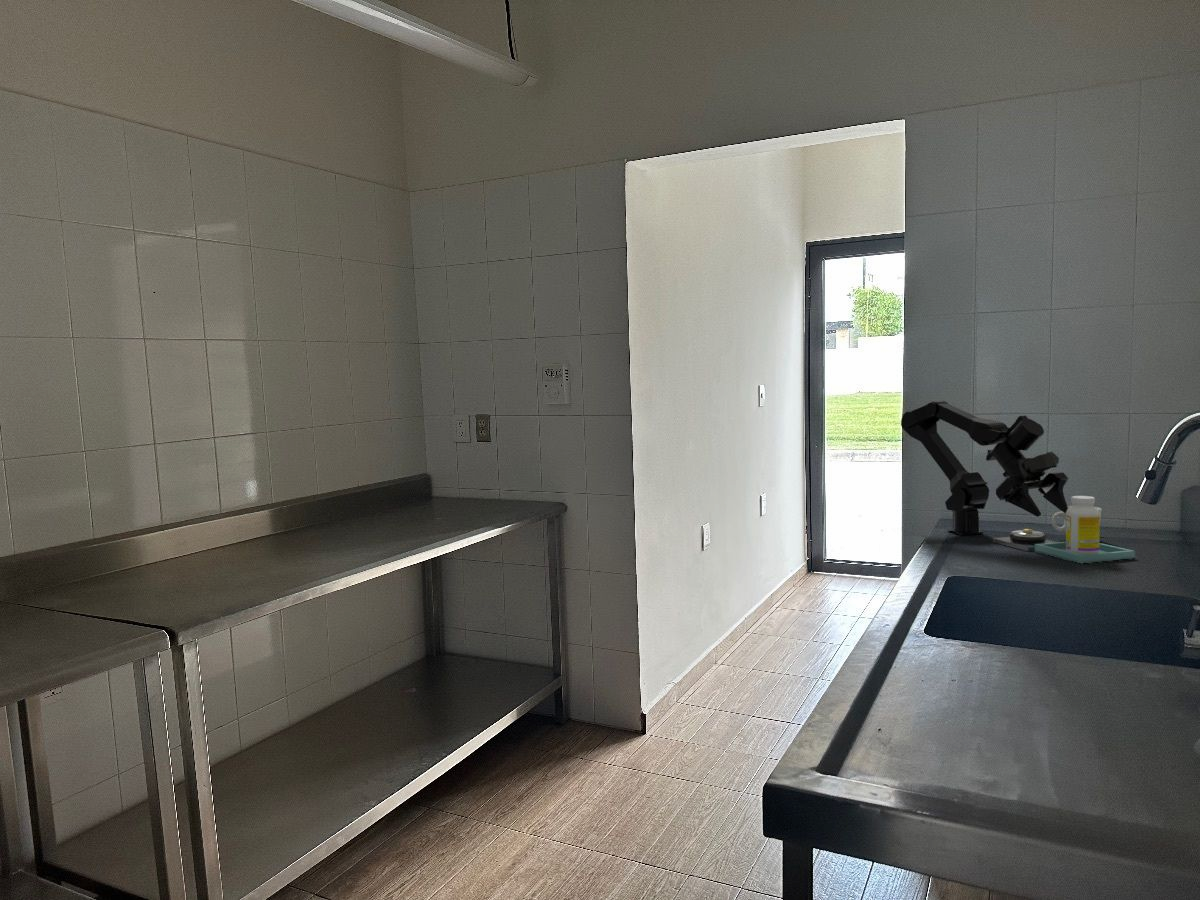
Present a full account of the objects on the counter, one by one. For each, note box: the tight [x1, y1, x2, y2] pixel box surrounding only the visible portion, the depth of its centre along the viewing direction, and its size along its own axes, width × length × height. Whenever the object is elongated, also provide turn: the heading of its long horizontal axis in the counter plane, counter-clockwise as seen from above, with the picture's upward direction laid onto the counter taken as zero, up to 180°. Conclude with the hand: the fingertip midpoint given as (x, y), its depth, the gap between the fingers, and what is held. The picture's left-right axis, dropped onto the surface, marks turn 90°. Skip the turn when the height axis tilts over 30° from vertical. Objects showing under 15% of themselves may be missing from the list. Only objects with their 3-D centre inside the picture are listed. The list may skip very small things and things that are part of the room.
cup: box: [1051, 505, 1103, 532], centre depth 210 cm, size 11×8×8 cm
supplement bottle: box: [1065, 495, 1101, 555], centre depth 193 cm, size 7×7×13 cm
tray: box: [1034, 540, 1136, 565], centre depth 193 cm, size 14×14×2 cm
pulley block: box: [992, 528, 1056, 552], centre depth 206 cm, size 12×10×4 cm
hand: (1053, 513), depth 200 cm, fingers open, 9 cm apart
